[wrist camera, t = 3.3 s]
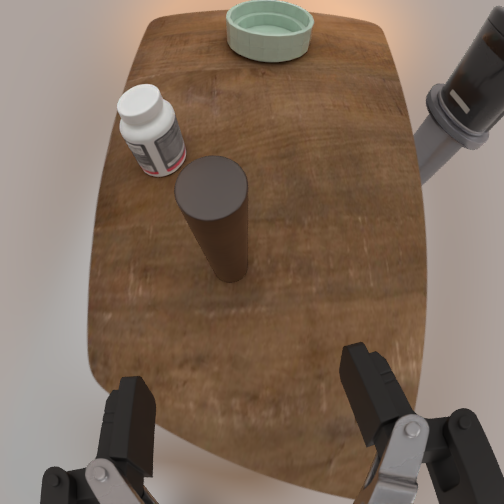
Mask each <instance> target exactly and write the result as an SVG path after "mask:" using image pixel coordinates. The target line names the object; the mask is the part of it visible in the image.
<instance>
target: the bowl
mask: <svg viewBox="0 0 504 504" xmlns="http://www.w3.org/2000/svg"><path fill="white" fill-rule="evenodd" d="M226 26H227V42H228V44H229V46H230V48H231V49H232V50H234V51H235V52H236V53H238V54H239V55H242V56H244V57H247V58H249V59H253V60H257V61H262V62H282V61H288V60H292V59H295V58H298V57H300V56H302V55H303V54H304V53H306V52H307V51H308V48H309V46H310V41H311V36H312V31H313V26H314V20H313V17H312V15H311V14H310V13H309V12H308V11H306V10H305V9H303V8H301V7H299V6H297V5H294V4H291V3H288V2H284V1H278V0H251V1H247V2H243V3H240V4H238V5H236V6H234V7H232V8H231V9H230V10H229V11H228V12H227V16H226Z"/></svg>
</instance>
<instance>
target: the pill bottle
mask: <svg viewBox="0 0 504 504" xmlns="http://www.w3.org/2000/svg"><path fill="white" fill-rule="evenodd" d="M117 110H118V112H119V114H120V116H121V121H120V131H121V134H122V136H123V138H124V140H125V141H126V143H127V145H128V146H129V148H130V150H131V151H132V153H133V155H134V156H135V158H136V160H137V161H138V163H139V165H140V166H141V168H142V169H143V171H144V172H145V173H147V174H148V175H151V176H154V177H162V176H166V175H169V174H171V173H173V172H175V171H176V170H177V169H178V168H179V167H180V166H181V165H182V163H183V162H184V160H185V157H186V148H185V145H184V141H183V138H182V135H181V132H180V128H179V125H178V122H177V119H176V115H175V112H174V110H173V107H172V106H171V104H170V103H169V102H167V101H166V100H164V99H163V98H162V96H161V94H160V91H159V89H158V88H157V87H156V86H154V85H151V84H142V85H138V86H135V87H133V88H131V89H129V90H128V91H126V92H125V93H124V94H123V95H122V96H121V98H120V99H119V101H118V104H117Z"/></svg>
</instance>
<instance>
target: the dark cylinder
mask: <svg viewBox="0 0 504 504" xmlns="http://www.w3.org/2000/svg"><path fill="white" fill-rule="evenodd" d="M174 193H175V199H176V202H177V204H178V206H179V208H180V210H181V212H182V214H183V215H184V217H185V219H186V221H187V223H188V225H189V227H190V229H191V230H192V232H193V234H194V236H195V238H196V240H197V242H198V243H199V245H200V247H201V249H202V251H203V252H204V254H205V256H206V258H207V260H208V262H209V263H210V265H211V267H212V269H213V271H214V272H215V274H216V276H217V277H218V278H219V279H220V280H222V281H224V282H228V283H233V282H237V281H239V280H240V279H242V278H243V277H244V275H245V274H246V272H247V268H248V181H247V177H246V174H245V173H244V171H243V169H242V168H241V167H240V166H239V165H238V164H237V163H235V162H234V161H232V160H231V159H228V158H226V157H222V156H205V157H202V158H199V159H196V160H194V161H192V162H191V163H189V164H188V165H187V166H186V167H185V168H184V169H183V170H182V171H181V173H180V174H179V176H178V178H177V180H176V183H175V190H174Z"/></svg>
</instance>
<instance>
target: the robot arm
mask: <svg viewBox="0 0 504 504" xmlns="http://www.w3.org/2000/svg"><path fill="white" fill-rule="evenodd" d="M438 100H439V103H440V105H441V107H442V109H443V111H444V112H445V114H446V115H447V116H448V117H449V118H450V120H451V121H452V122H453V123H454V124H455V125H457V126H458V127H459V128H460V129H462V130H463V131H465V132H466V133H468V134H470V135H473V136H480V135H481V134H482V133H483V132H485V133H487V132H488V131H489V130H490V129H491V128H492V127H493V126H494V125H495V124H496V123H497V122H498V121H499V120H500V119H501V118H502V117H503V116H504V7H502V6H496V7H494V8H493V10H492V11H491V13H490V15H489V17H488V18H487V20H486V21H485V23H484V25H483V26H482V28H481V30H480V31H479V33H478V35H477V36H476V38H475V39H474V41H473V43H472V44H471V46H470V47H469V49H468V50H467V52H466V53H465V55H464V57H463V58H462V60H461V61H460V63H459V64H458V66H457V67H456V69H455V70H454V72H453V73H452V75H451V76H450V78H449V79H448V81H447V82H446V84H445V85H444V86H443V87H442V88H441V90H440V91H439V93H438ZM339 373H340V379H341V382H342V385H343V387H344V390H345V392H346V395H347V397H348V400H349V403H350V405H351V408H352V410H353V413H354V415H355V418H356V421H357V423H358V426H359V428H360V431H361V434H362V436H363V439H364V442H365V444H366V447H369V446H372V445H375V447H376V450H377V452H376V455H375V457H374V460H373V462H372V465H371V467H370V470H369V472H368V475H367V477H366V480H365V482H364V484H363V486H362V489H361V491H360V492H359V494H358V496H357V497H356V499H355V501H354V503H353V504H413V502H414V500H415V497H416V493H417V489H418V484H417V482H416V479H417V475H418V472H419V469H420V465H421V463H426V465H427V468H428V471H429V474H430V477H431V480H432V483H433V486H434V489H435V492H436V495H437V498H438V501H439V504H504V477H503V475H502V472H501V470H500V468H499V465H498V462H497V460H496V458H495V455H494V453H493V450H492V448H491V446H490V444H489V442H488V439H487V437H486V435H485V433H484V431H483V428H482V426H481V424H480V422H479V420H478V418H477V416H476V415H475V413H474V412H472V411H471V410H469V409H465V408H462V409H458V410H456V411H454V412H453V413H452V414H451V416H450V417H443V418H434V419H427V418H423V417H421V416H419V415H417V414H416V413H415V412H414V411H413V410H412V408H411V406H410V404H409V402H408V400H407V398H406V396H405V394H404V392H403V391H402V389H401V387H400V385H399V383H398V381H397V380H396V377H395V375H394V374H393V372H392V371H391V368H390V366H389V364H388V362H387V361H386V359H385V358H384V357H382V356H381V355H380V354H379V353H378V352H376V351H375V352H372V353H369V352H368V350H367V348H366V346H365V345H364V343H363V342H359V343H355V344H351V345H347V346H344V347H343V350H342V356H341V362H340V368H339ZM104 411H105V414H104V416H103V423H102V427H101V433H100V439H99V446H98V452H97V456H96V459H95V460H93V461H91V462H90V463H89V464H88V466H87V467H86V468H83V469H77V470H72V471H67V472H66V471H65V470H63V469H62V468H60V467H50V468H49V469H47V470H46V471H45V473H44V475H43V479H42V489H41V501H40V504H159V503H158V502H157V501H156V500H155V499H154V497H153V496H152V495H151V494H150V492H149V491H148V490H147V488H146V487H145V486H144V485H143V482H144V477H153V476H152V475H153V448H154V431H155V430H154V429H155V416H156V403H155V399H154V396H153V395H152V393H151V391H150V390H149V388H148V387H147V385H146V384H145V382H144V380H143V379H142V377H140V376H133V377H122V378H121V381H120V385H119V390H113V391H112V392H111V394H110V395H109V397H108V399H107V400H106V405H105V410H104Z"/></svg>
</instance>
